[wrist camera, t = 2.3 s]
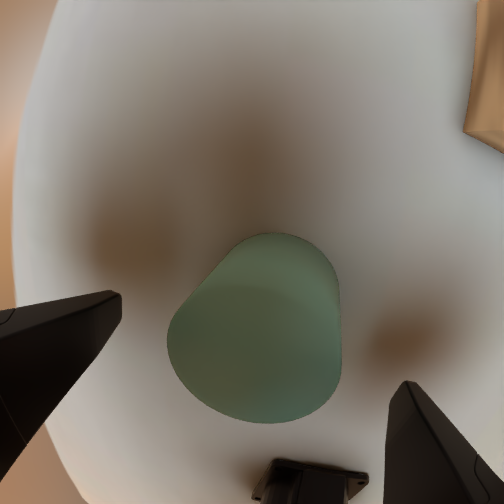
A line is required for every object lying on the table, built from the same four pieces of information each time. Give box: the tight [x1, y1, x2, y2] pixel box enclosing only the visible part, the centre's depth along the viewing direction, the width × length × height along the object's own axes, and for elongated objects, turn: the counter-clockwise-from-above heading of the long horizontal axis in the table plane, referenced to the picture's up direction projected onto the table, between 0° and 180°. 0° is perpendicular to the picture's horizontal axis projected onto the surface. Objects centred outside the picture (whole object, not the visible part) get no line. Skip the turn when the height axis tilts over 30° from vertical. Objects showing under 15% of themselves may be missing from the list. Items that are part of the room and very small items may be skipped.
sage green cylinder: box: [167, 233, 342, 423], centre depth 10 cm, size 5×5×4 cm
